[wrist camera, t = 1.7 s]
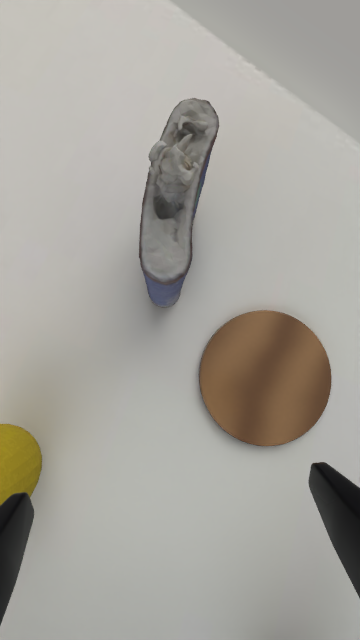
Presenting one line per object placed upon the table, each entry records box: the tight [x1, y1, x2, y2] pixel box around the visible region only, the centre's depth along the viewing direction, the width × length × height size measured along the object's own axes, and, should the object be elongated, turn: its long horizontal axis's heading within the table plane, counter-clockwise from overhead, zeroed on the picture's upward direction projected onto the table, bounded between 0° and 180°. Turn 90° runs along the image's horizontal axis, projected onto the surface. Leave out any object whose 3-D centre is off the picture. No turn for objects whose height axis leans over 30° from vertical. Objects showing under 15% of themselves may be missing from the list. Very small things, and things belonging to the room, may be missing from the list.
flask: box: [139, 98, 219, 307], centre depth 16 cm, size 9×3×11 cm, turn 168°
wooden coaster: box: [199, 310, 331, 446], centre depth 21 cm, size 10×10×1 cm
